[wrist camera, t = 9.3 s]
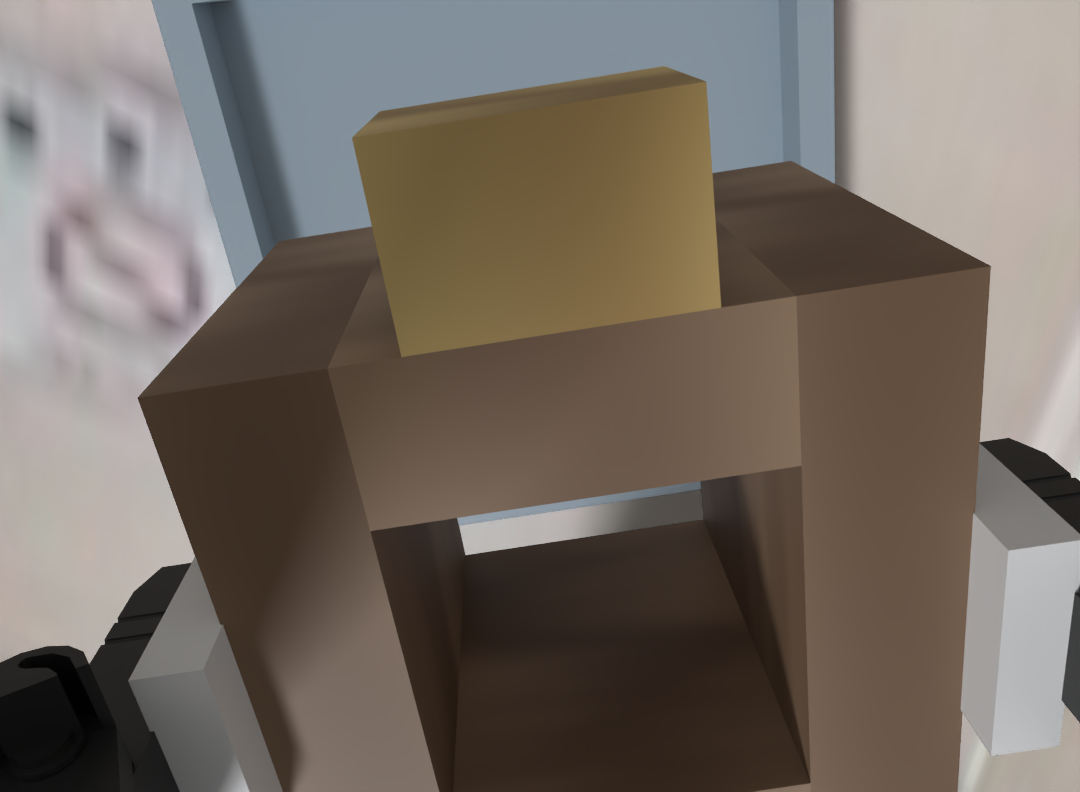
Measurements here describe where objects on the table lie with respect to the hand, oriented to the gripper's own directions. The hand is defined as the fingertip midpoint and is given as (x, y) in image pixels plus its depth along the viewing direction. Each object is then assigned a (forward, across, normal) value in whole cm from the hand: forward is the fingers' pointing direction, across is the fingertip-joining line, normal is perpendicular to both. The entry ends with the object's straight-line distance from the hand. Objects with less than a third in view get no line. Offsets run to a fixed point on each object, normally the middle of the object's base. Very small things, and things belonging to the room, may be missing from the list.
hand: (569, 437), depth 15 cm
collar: (0, 0, 0) cm, 0 cm away
